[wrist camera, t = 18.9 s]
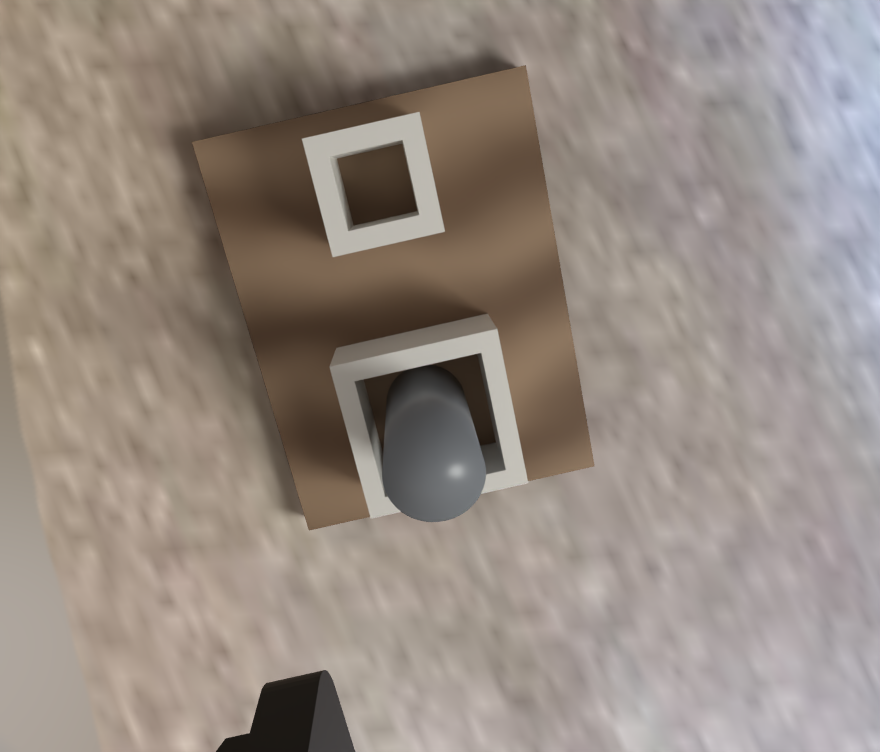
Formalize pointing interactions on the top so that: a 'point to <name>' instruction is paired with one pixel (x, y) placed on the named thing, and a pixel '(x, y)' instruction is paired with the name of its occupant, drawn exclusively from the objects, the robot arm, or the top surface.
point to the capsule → (430, 446)
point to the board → (400, 274)
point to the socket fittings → (413, 345)
